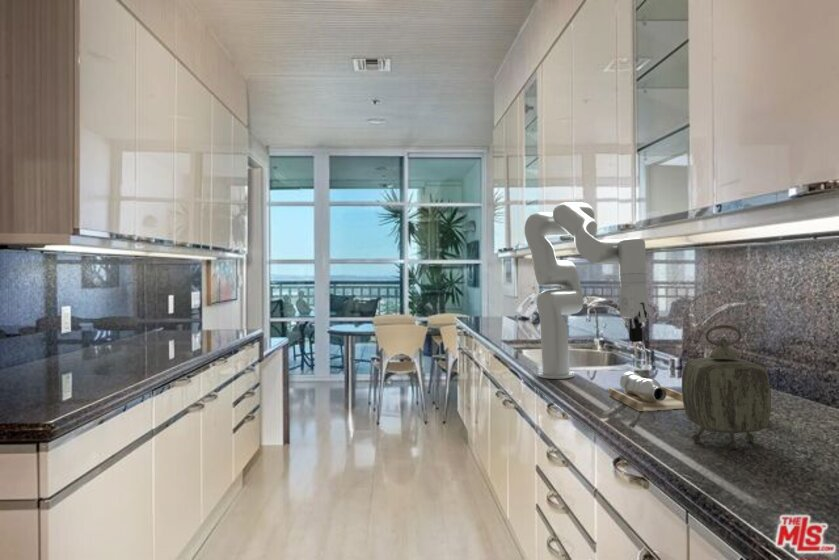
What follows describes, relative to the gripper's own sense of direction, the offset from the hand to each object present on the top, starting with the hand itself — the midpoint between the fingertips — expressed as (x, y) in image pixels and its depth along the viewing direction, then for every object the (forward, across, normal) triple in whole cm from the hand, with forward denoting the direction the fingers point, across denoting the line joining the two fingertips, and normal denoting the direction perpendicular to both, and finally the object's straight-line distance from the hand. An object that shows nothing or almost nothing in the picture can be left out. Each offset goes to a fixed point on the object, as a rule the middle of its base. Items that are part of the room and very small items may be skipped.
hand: (636, 341), depth 158 cm
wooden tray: (+16, +8, 0) cm, 18 cm away
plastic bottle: (+13, -4, -1) cm, 14 cm away
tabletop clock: (+16, +48, -3) cm, 51 cm away
